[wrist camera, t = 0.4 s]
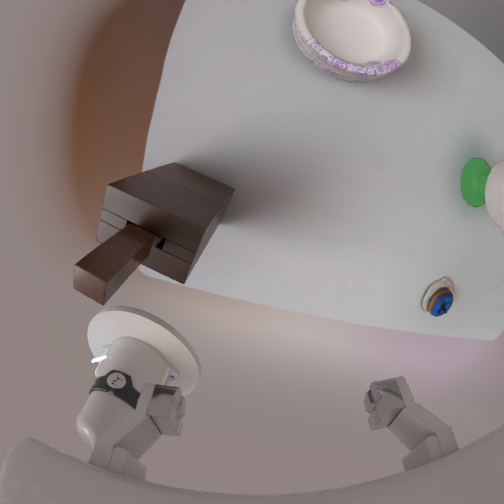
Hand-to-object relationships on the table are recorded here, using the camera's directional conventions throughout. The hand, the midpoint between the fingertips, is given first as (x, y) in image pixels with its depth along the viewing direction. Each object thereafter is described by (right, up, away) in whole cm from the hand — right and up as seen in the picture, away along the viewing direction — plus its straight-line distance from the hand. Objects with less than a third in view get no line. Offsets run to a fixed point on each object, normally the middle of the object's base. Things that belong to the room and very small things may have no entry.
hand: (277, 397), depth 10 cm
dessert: (+35, -2, +34) cm, 49 cm away
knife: (-10, +11, +20) cm, 25 cm away
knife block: (-9, +15, +29) cm, 34 cm away
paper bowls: (+12, +36, +18) cm, 42 cm away
